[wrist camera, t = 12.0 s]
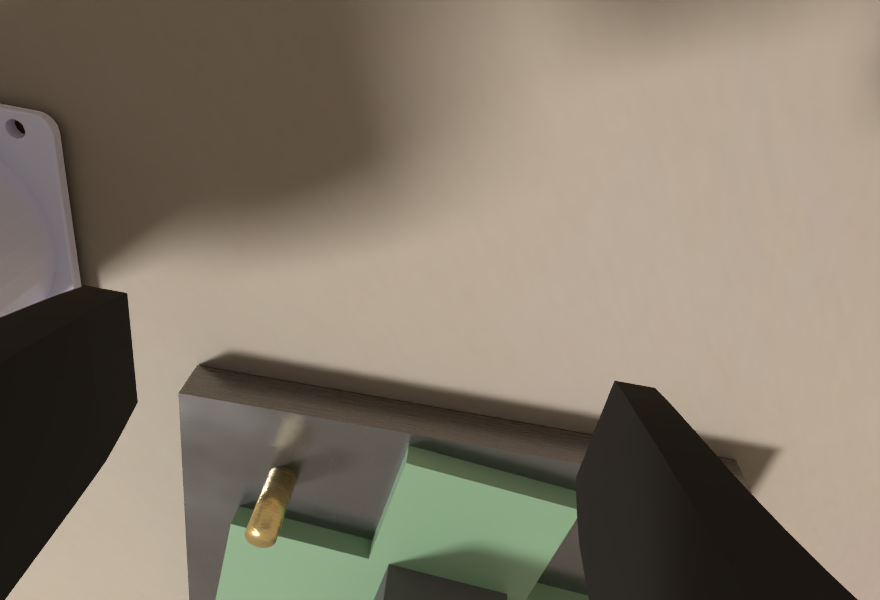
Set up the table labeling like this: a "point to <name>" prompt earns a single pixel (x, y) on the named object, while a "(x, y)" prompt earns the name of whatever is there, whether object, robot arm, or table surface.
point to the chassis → (338, 462)
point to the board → (416, 542)
